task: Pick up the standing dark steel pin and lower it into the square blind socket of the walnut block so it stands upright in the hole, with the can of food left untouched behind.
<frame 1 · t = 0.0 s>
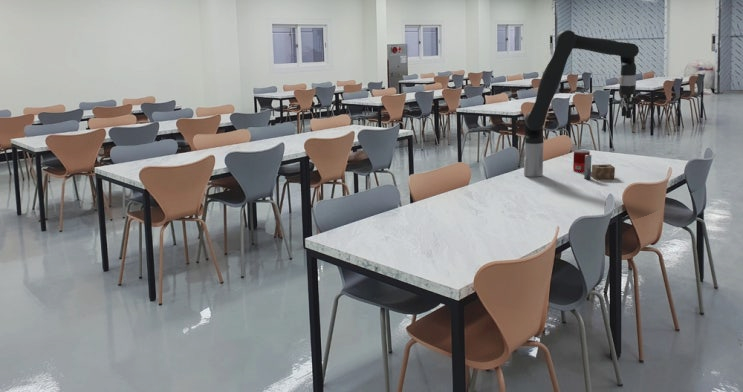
hand: (626, 117, 326), 29 cm above the table, tool pointing down, fingers open, 8 cm apart
pin: (587, 179, 324), on the table
socket block: (602, 177, 326), on the table
canned food: (581, 171, 344), on the table
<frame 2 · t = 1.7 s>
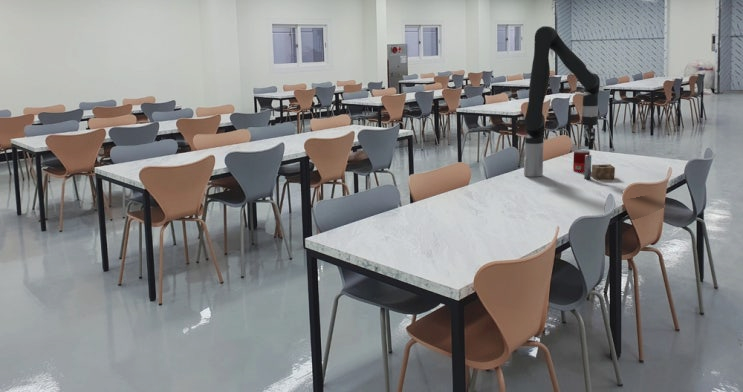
hand: (588, 147, 321), 16 cm above the table, tool pointing down, fingers open, 8 cm apart
nothing on the table moved.
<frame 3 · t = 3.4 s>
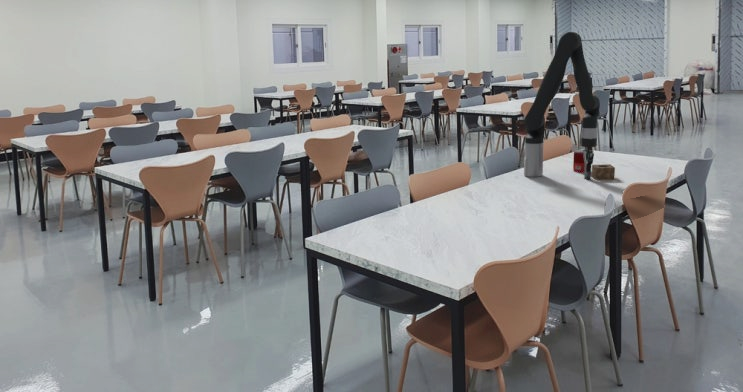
hand: (587, 171, 323), 4 cm above the table, tool pointing down, fingers closed on pin, 3 cm apart
pin: (587, 179, 324), on the table, touching gripper
everything else where it was.
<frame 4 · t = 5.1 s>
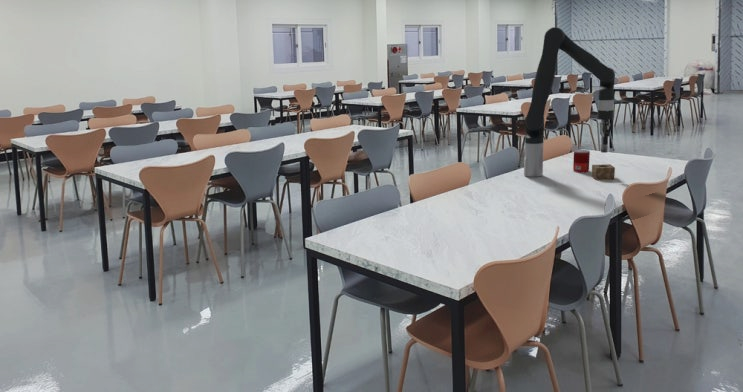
hand: (604, 143, 322), 17 cm above the table, tool pointing down, fingers closed on pin, 3 cm apart
pin: (604, 152, 323), point 13 cm above the table, touching gripper
everything else where it was.
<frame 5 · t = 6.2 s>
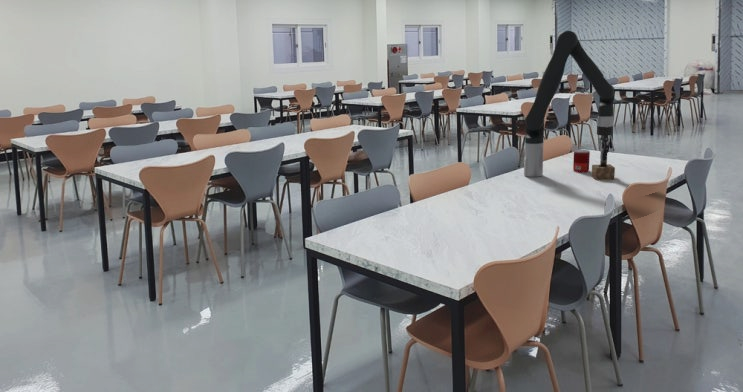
hand: (603, 159, 324), 9 cm above the table, tool pointing down, fingers closed on pin, 3 cm apart
pin: (603, 167, 324), point 5 cm above the table, touching gripper
everything else where it was.
when the fingers open (7 cm above the table, at t = 6.9 s): pin drops 2 cm, resting on socket block.
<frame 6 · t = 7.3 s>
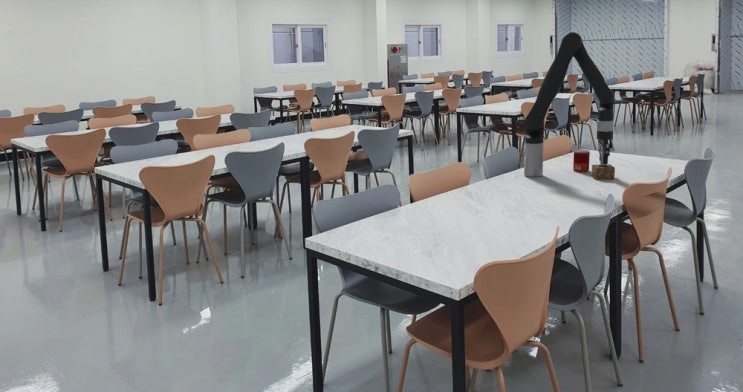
hand: (603, 162, 324), 8 cm above the table, tool pointing down, fingers open, 7 cm apart
pin: (602, 175, 325), point 1 cm above the table, touching socket block
everything else where it was.
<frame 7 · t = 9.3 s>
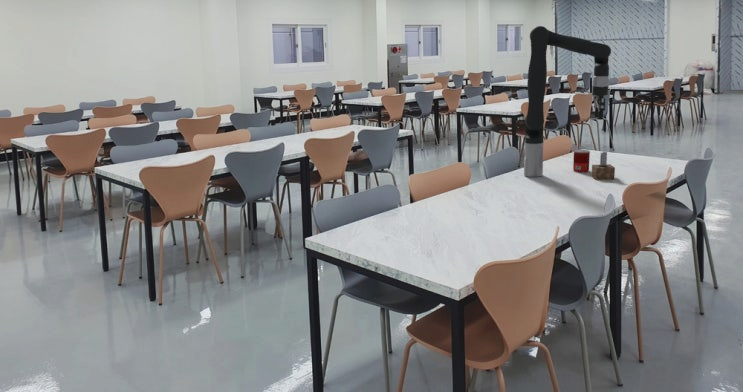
hand: (598, 118, 325), 29 cm above the table, tool pointing down, fingers open, 8 cm apart
nothing on the table moved.
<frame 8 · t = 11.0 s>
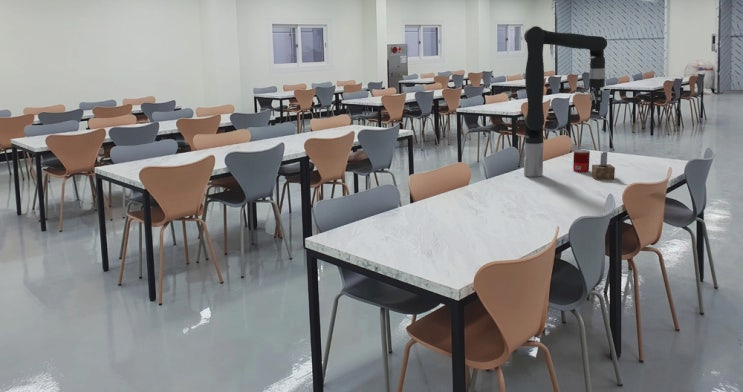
hand: (595, 110, 327), 33 cm above the table, tool pointing down, fingers open, 8 cm apart
nothing on the table moved.
at the end: pin 0.0 cm off-centre on the socket block, point 1.0 cm above the socket block's base; pin tilted 1°; the gripper is holding nothing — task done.
